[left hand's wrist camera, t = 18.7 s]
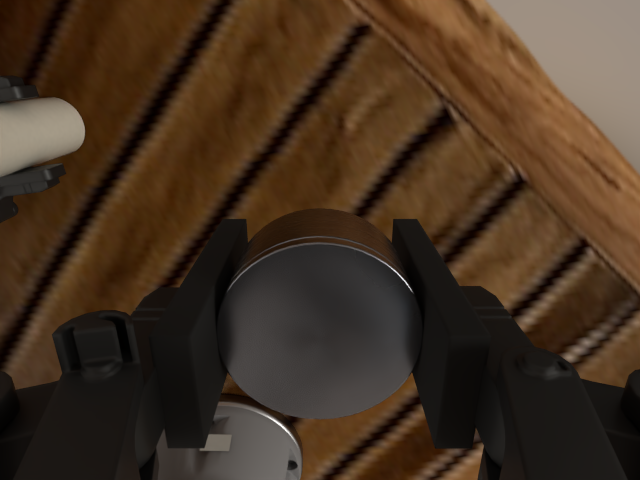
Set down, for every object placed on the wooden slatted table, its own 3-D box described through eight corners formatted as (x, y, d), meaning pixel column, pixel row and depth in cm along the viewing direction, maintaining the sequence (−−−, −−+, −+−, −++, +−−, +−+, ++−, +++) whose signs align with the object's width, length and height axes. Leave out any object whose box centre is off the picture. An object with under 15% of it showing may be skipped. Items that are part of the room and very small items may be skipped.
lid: (200, 261, 12) (172, 306, 10) (353, 174, 11) (361, 202, 9) (292, 382, 13) (286, 446, 11) (433, 314, 12) (458, 369, 10)
